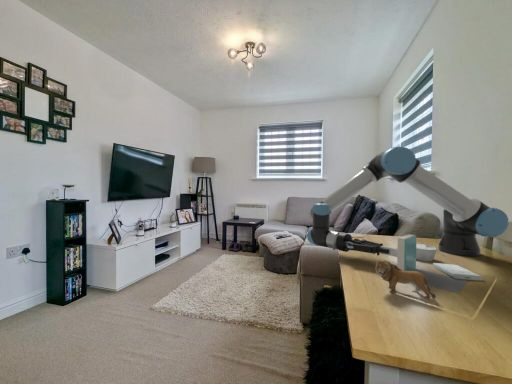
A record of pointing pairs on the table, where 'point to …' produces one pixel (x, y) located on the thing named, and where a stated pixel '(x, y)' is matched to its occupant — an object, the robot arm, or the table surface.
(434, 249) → the ramekin
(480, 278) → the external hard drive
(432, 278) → the mat
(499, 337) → the table surface
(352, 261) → the table surface
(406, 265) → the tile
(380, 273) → the lion figurine
